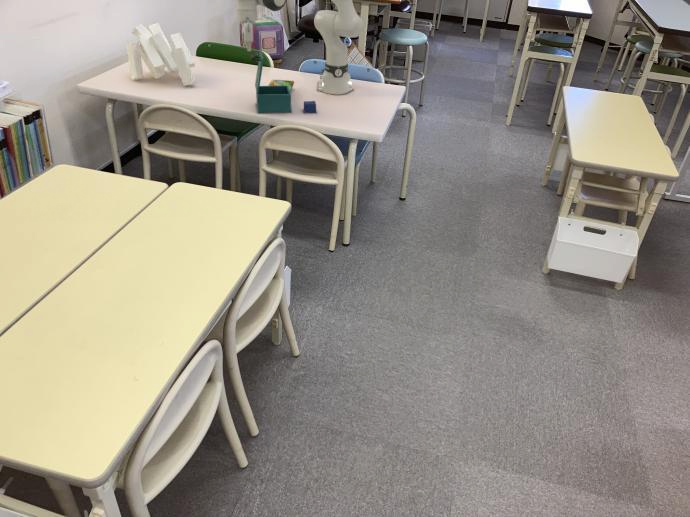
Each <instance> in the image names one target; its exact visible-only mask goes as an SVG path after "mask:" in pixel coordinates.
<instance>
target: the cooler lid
mask: <svg viewBox="0 0 690 517" xmlns="http://www.w3.org/2000/svg"><path fill="white" fill-rule="evenodd" d="M250 58H251V61H252V62H256V61H257V68H256V77H255V82H254V86H255V94H256V93H257V94H259V87H260V86H261V80H262V74H263V67H264V62H265V61H264V60H265V59H264V54H263V51H262V50H259V56H258V55H255V54H254V53H252V54H250Z"/></svg>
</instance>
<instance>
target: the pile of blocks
mask: <svg viewBox="0 0 690 517" xmlns="http://www.w3.org/2000/svg"><path fill="white" fill-rule="evenodd" d="M131 33H132V34H133V35H134V36H135V37H136V38H137V39H138V41H139V42H138V41H137V42H136V41H129V42H127V43H125V46H126V47H125V48H126V53H127V60H128V66H129V73H130V78H131V80H141V79H144V78H145V76H144V70H143V64H142V61H143V62H144V64H145V66H146V67H147V68H148V70H149V71H150V73H151V75H152V76H153V77H154V79H155V80H158V79H159V78H160V77H162V76H164V75H165V74H167V71H168V72H170V73H171V75H172V76H173V77H174V76H177V75H179V76H180V78H181V81H182V84H183V86H184V87H185V86H189V85H191V84H195V83H196V79H195V77H194V73H193V72H192V68H194V67H195V66H196V62H195V60H194V58H193V56H192V54H191V52H190V50H189V48H188V46H187V44H186V42H185V40H184V38H183V36H182V34H181V32H180V31H179V32H175V33H174V34H170V35H169V40H170V43H171V44H172V46H173V48H174V49H172V47H171V45H170V43H169V41H168V39H167V37H166V35H165V33H164V31H163V29H162V27H161V25H160V23H159V22H155V23H152V24H149V25H148V29H147V27H145V26H144V25H143V24H142V23H139V24H138V25H137V26H135V27H134V29H133V30H132V32H131ZM139 43H140V44H139ZM166 69H167V71H166Z"/></svg>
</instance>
